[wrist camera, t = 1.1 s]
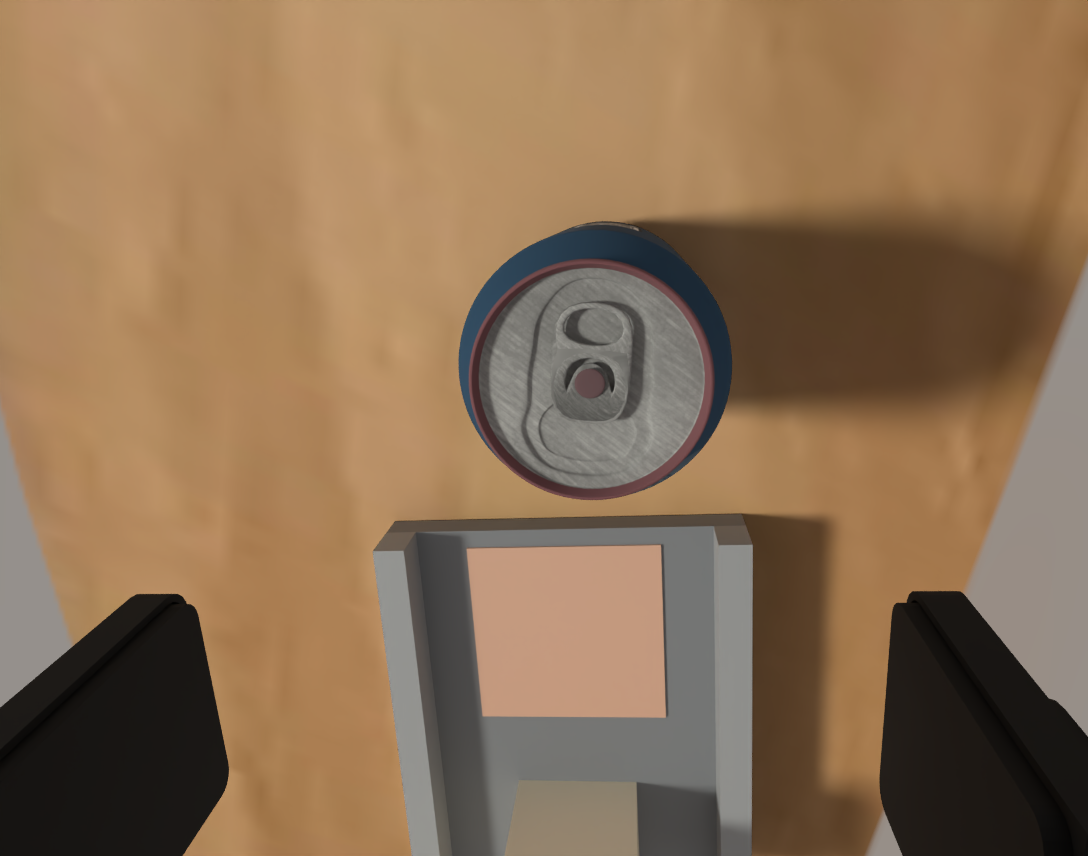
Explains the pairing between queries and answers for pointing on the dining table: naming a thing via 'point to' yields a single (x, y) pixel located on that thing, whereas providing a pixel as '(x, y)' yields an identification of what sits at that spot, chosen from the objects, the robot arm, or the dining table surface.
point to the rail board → (572, 684)
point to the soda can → (595, 362)
